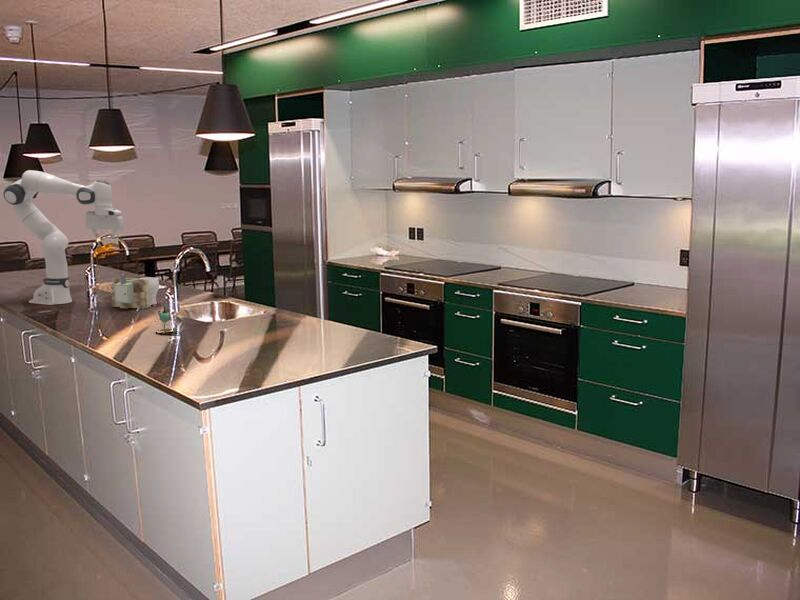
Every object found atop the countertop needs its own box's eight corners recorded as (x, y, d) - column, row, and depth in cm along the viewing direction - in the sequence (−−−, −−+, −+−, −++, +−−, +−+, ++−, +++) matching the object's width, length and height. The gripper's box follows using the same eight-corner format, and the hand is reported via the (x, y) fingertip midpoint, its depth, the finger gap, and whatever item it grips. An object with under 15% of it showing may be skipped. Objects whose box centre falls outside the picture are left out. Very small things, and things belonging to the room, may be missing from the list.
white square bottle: (114, 302, 408) (112, 275, 405) (122, 299, 417) (121, 272, 413) (128, 303, 407) (126, 276, 404) (136, 299, 416) (134, 273, 412)
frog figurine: (164, 338, 348) (162, 306, 346) (148, 335, 361) (146, 304, 360) (184, 335, 354) (181, 304, 353) (167, 332, 368) (165, 302, 366)
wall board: (110, 307, 416) (109, 278, 413) (116, 305, 423) (115, 277, 420) (144, 309, 413) (143, 280, 410) (150, 307, 420) (150, 278, 417)
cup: (162, 303, 432) (161, 277, 430) (154, 306, 422) (154, 280, 419) (144, 302, 433) (144, 276, 431) (136, 305, 423) (135, 279, 420)
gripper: (82, 211, 400) (83, 237, 402) (118, 212, 397) (119, 238, 400) (88, 210, 406) (89, 236, 408) (124, 211, 403) (125, 237, 406)
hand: (104, 237), depth 404 cm, fingers open, 8 cm apart
